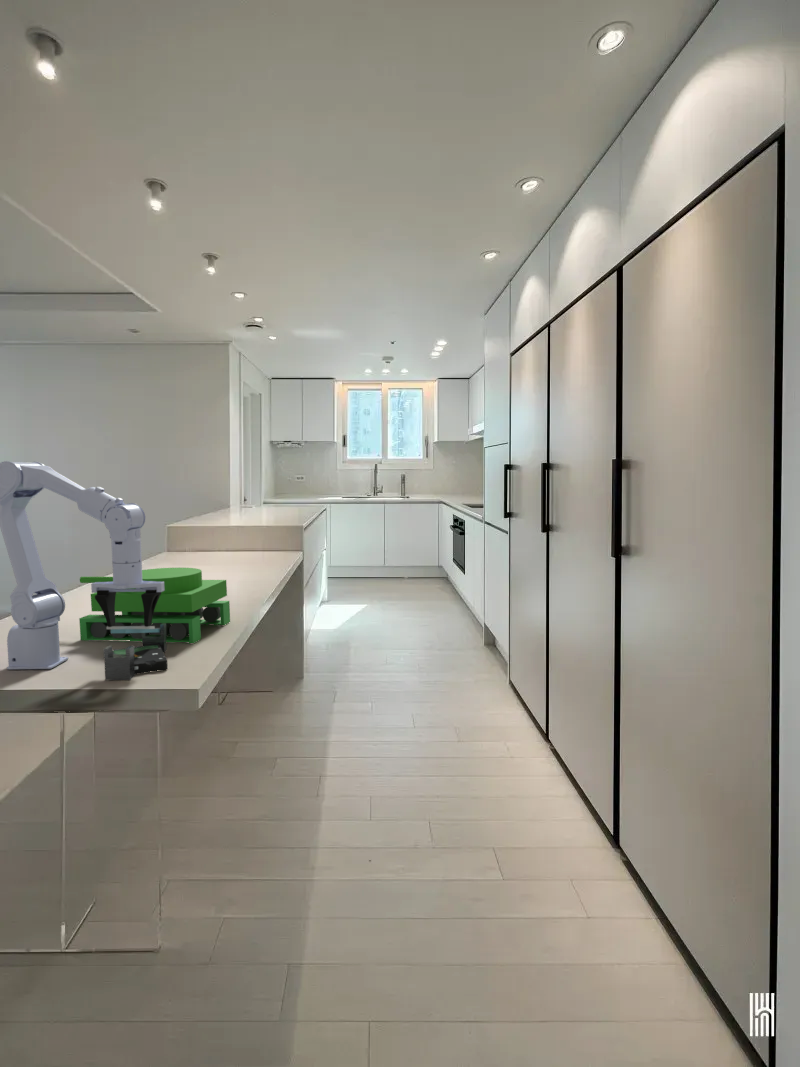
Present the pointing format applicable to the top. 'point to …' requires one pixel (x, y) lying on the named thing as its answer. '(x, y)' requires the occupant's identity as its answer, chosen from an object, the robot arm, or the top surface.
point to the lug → (119, 664)
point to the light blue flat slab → (134, 629)
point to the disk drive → (147, 658)
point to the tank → (163, 606)
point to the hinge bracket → (156, 638)
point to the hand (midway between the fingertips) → (129, 625)
